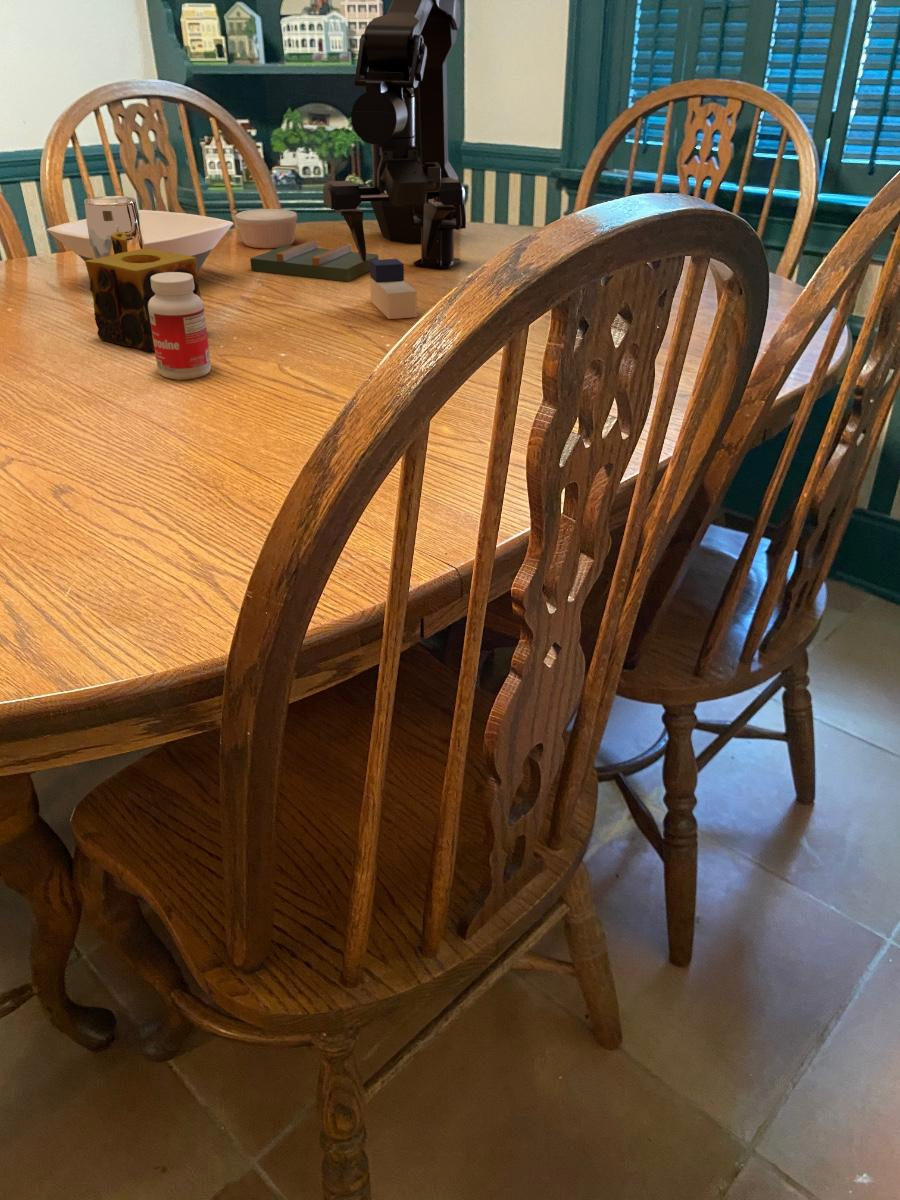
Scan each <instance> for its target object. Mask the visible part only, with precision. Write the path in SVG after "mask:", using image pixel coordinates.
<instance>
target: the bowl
mask: <svg viewBox="0 0 900 1200" xmlns="http://www.w3.org/2000/svg"><path fill="white" fill-rule="evenodd" d="M138 213H139V218H140V222H141V227H142V233H143V241H144V249H151V250H157V251H163V252H169V253H176V254H182V255H186V256H192V257H195V258H196V262H197V273H198V274H199V271H200V269H201V268H202V267H203V266H204V263H205V262H206V259H207V258H208V257H209V255H210V254H211V252H212V250H213V249H215V247H216V246H217V245H218V243H219V242H220V241H221V240H222V239H223V237H224V236H225V235H226V234H227V233H228V231H230V229H231V228H232V226H233V225H234V222H233V221H230V220H226V219H222V218H217V217H211V216H205V215H200V214H194V213H184V212H173V211H165V210H149V209H138ZM46 231H47V232H48V233H49V234H50V235H51V236H53V237H54V238H55V239H57V240H58V241H59V242H60V243H62V244H63V245H64V246H65V247H66V248H68V249H69V250H70V251H72V252H73V253H74V254H75V255H77V256H79V258H81V259H82V261H84V262H85V261H86V260H92V259H95V257H94V254H93V250H92V247H91V243H90V239H89V234H88V228H87V221H86V218H84V219H83V218H82V219H79V220H75V221H70V222H64V223H60V224H57V225H54V226H51V227H48V228H47V229H46Z"/></svg>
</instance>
